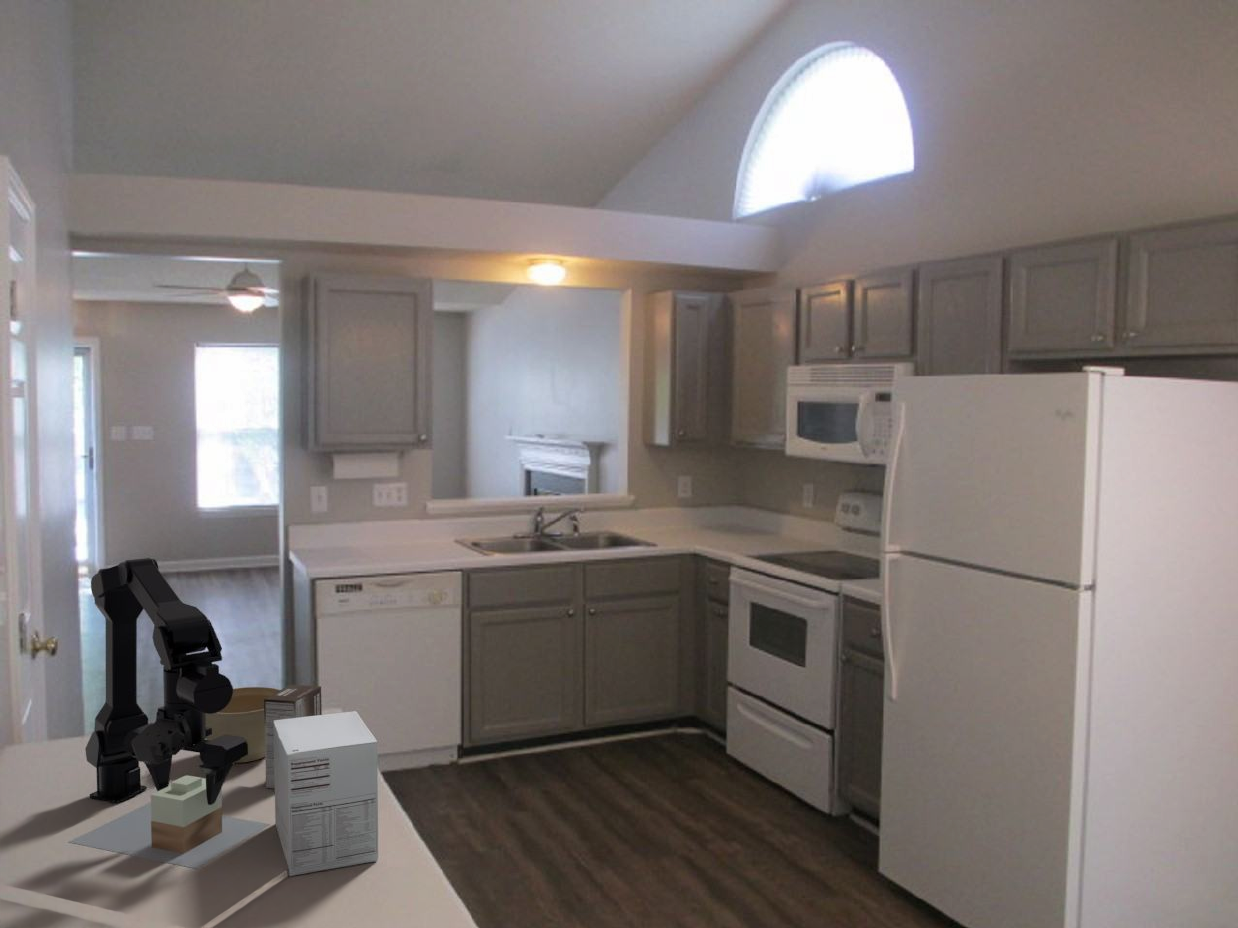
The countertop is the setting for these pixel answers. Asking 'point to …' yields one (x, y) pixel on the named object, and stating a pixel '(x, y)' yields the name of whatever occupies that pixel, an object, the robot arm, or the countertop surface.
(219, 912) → the countertop surface
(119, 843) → the base plate
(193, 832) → the lower brick
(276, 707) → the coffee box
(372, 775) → the supplement box
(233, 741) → the robot arm
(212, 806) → the upper brick
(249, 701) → the planter bowl
